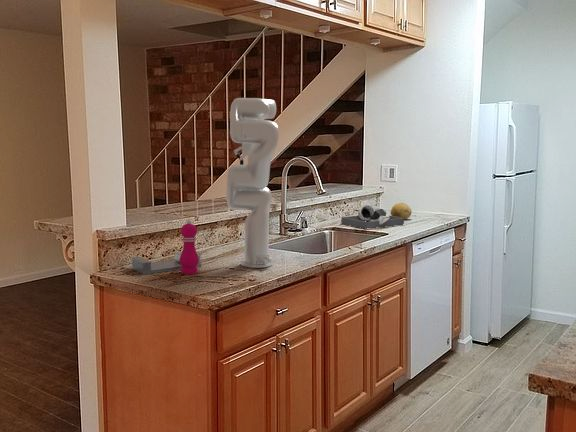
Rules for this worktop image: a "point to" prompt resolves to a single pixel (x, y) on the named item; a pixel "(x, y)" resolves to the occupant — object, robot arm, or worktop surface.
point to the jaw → (177, 255)
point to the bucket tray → (371, 222)
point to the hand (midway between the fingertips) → (253, 169)
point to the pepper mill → (189, 249)
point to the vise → (155, 266)
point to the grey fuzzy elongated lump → (373, 214)
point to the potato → (401, 210)
